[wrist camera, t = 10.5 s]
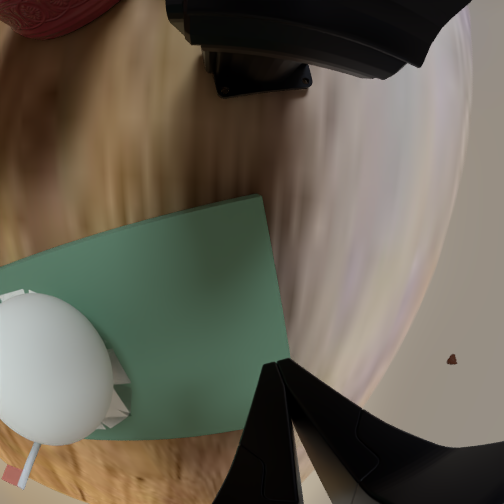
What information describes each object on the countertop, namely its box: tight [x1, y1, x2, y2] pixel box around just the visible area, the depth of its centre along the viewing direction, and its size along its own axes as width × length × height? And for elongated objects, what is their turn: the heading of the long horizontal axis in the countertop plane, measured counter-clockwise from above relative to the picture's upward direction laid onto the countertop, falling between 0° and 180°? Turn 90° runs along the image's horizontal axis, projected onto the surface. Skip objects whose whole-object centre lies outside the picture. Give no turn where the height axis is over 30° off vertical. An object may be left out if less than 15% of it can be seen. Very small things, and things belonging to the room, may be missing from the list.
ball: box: [0, 293, 113, 446], centre depth 13 cm, size 10×10×10 cm
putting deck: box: [0, 194, 291, 490], centre depth 15 cm, size 32×20×12 cm, turn 101°
